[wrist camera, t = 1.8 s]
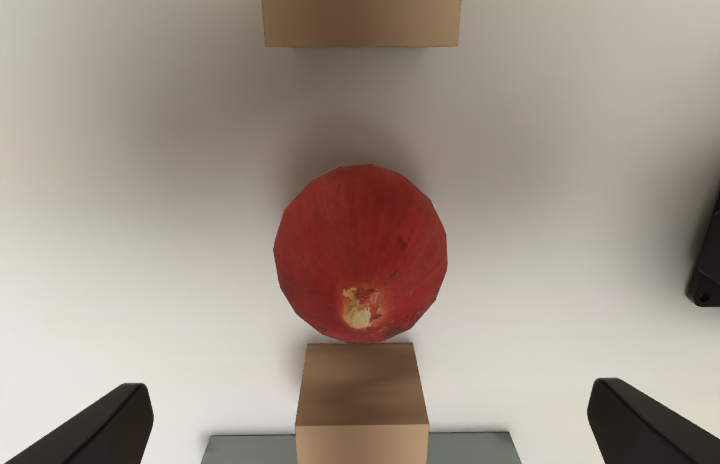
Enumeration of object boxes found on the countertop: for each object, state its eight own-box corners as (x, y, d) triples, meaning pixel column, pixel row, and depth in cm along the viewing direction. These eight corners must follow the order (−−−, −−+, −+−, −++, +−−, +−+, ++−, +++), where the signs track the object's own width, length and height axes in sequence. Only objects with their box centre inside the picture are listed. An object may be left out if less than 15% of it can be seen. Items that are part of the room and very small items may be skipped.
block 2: (412, 342, 21) (429, 424, 17) (410, 391, 22) (424, 481, 18) (307, 343, 21) (294, 426, 17) (310, 393, 22) (299, 483, 18)
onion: (449, 243, 19) (510, 365, 12) (331, 296, 20) (319, 440, 13) (392, 120, 17) (422, 175, 10) (264, 185, 18) (202, 280, 11)
